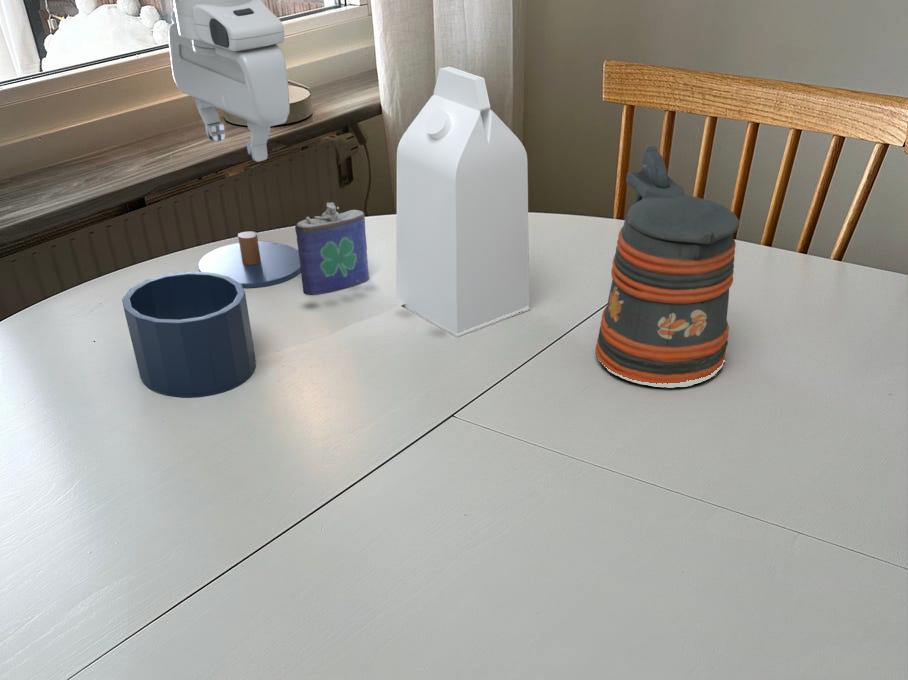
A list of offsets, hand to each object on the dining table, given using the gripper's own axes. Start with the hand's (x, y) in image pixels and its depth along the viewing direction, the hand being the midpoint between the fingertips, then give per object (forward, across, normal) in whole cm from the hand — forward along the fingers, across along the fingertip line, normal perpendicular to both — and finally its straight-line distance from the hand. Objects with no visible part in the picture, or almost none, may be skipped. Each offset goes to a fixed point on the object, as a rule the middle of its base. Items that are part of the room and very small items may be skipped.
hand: (237, 149), depth 120 cm
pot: (+16, +16, -18) cm, 29 cm away
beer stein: (+16, +46, +24) cm, 55 cm away
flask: (+16, +9, +6) cm, 20 cm away
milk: (+16, +23, +15) cm, 32 cm away
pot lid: (+15, -3, +1) cm, 16 cm away
